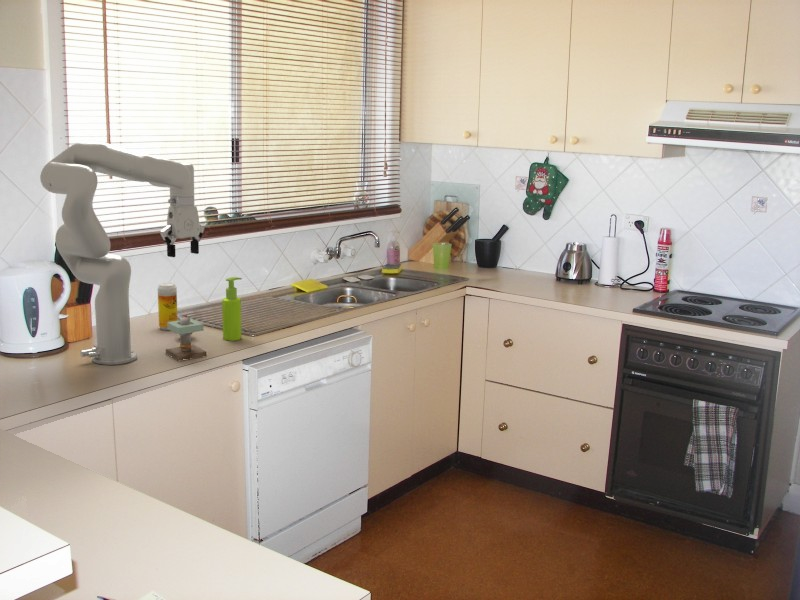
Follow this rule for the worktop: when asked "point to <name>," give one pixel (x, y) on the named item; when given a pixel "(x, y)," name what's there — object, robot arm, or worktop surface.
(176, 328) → the collar
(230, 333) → the soap dispenser
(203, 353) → the post stand
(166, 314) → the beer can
